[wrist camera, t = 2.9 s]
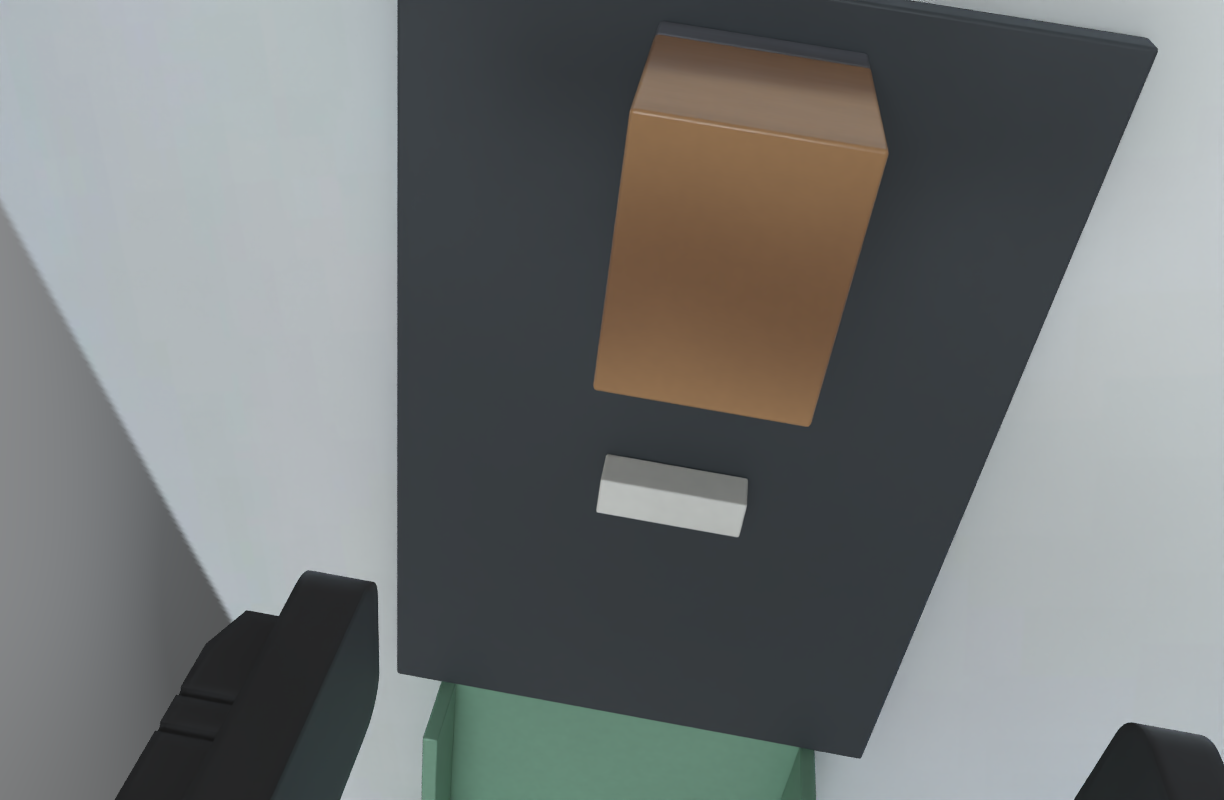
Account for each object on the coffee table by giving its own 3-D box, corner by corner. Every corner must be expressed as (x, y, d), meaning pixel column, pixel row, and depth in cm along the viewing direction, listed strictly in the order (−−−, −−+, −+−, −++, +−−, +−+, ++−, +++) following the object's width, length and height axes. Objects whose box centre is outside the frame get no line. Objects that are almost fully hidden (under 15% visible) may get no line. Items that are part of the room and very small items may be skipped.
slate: (406, -81, 23) (395, -73, 22) (1149, 37, 22) (1161, 49, 22) (403, 656, 37) (396, 674, 36) (859, 740, 36) (861, 760, 36)
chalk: (606, 452, 30) (600, 480, 29) (748, 477, 29) (747, 505, 28) (601, 485, 30) (595, 513, 29) (740, 509, 30) (739, 538, 29)
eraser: (659, 19, 23) (629, 108, 18) (868, 52, 22) (890, 150, 18) (624, 265, 26) (591, 391, 22) (805, 296, 26) (810, 429, 22)
